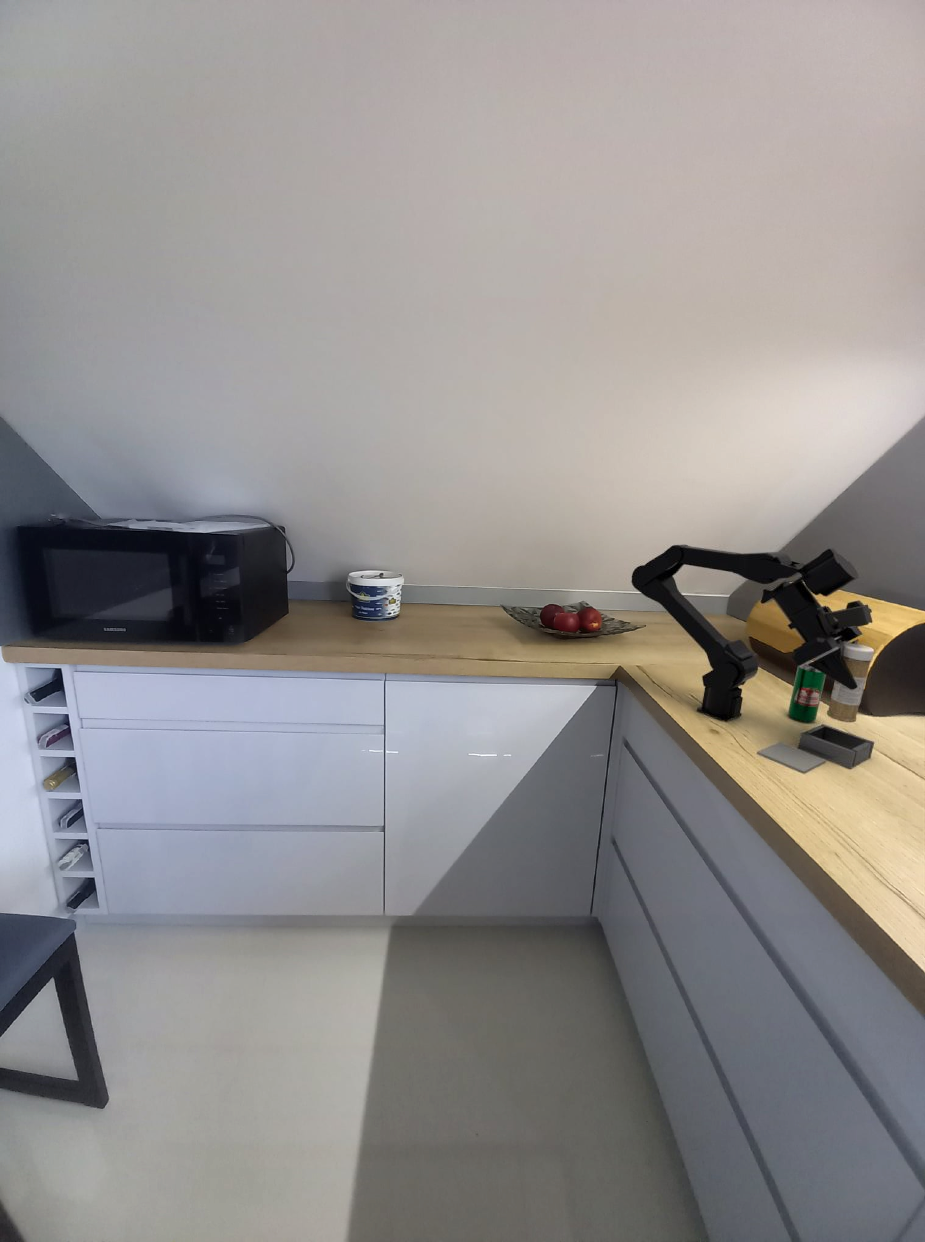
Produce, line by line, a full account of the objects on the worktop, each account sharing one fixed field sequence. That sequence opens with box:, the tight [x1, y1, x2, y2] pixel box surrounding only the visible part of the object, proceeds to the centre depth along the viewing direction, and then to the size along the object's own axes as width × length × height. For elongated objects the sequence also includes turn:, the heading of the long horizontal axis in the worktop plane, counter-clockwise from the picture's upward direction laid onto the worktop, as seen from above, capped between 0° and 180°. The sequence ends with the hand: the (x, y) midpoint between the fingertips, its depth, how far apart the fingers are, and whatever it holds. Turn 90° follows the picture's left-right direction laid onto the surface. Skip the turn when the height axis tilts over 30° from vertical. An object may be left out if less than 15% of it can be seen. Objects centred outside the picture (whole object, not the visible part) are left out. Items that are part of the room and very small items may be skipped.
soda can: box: [787, 660, 827, 724], centre depth 116 cm, size 5×5×12 cm
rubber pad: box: [756, 741, 827, 774], centre depth 100 cm, size 8×8×1 cm
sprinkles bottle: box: [826, 642, 875, 723], centre depth 99 cm, size 5×5×13 cm
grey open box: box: [797, 723, 875, 770], centre depth 102 cm, size 9×9×3 cm
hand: (858, 685), depth 99 cm, fingers closed on sprinkles bottle, 4 cm apart
